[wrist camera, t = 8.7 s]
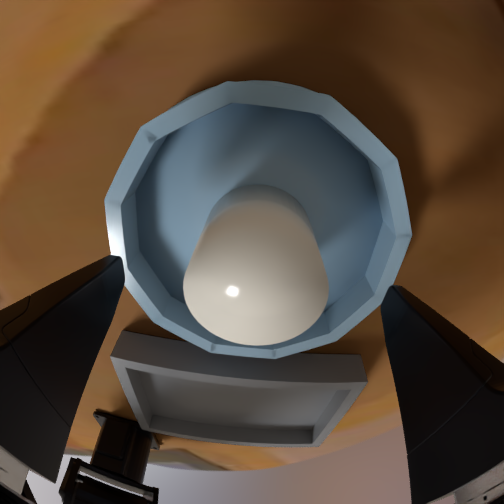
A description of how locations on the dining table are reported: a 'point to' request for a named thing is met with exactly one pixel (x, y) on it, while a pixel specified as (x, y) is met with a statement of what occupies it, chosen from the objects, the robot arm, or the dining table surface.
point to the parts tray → (235, 392)
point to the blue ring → (262, 173)
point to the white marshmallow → (256, 269)
